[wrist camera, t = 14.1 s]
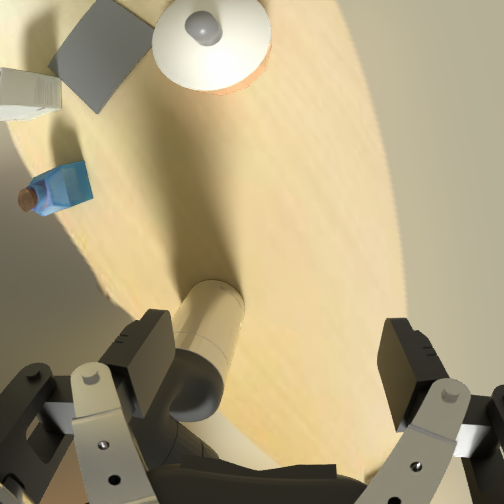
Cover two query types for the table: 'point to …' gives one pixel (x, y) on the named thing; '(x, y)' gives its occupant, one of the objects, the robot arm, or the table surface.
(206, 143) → the table surface
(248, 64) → the lid
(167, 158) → the table surface
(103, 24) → the mat
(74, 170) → the perfume bottle
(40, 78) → the skincare box
